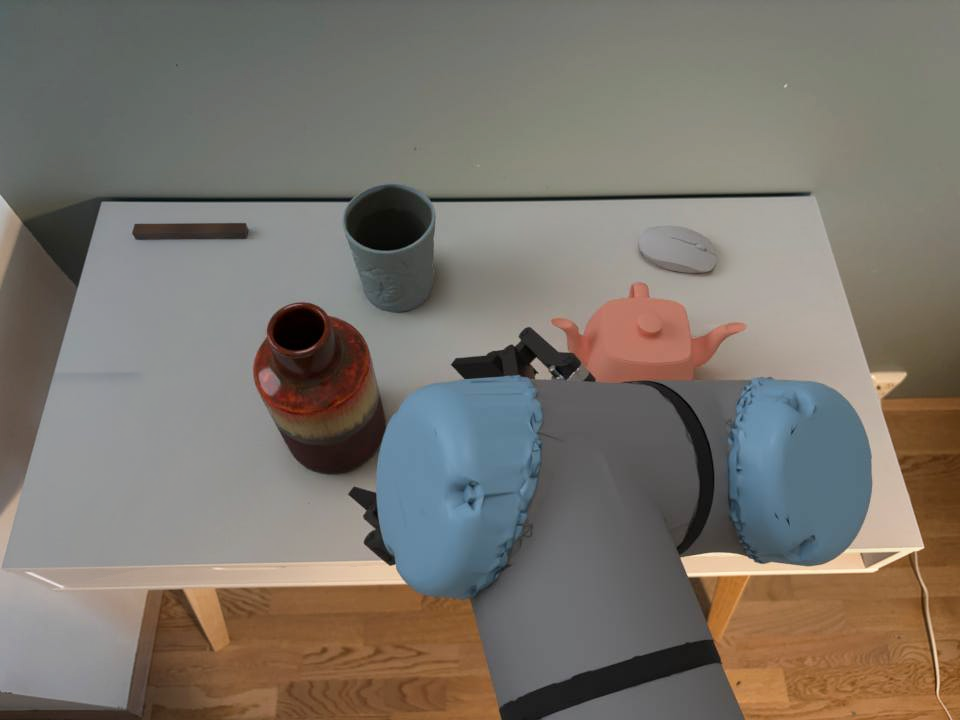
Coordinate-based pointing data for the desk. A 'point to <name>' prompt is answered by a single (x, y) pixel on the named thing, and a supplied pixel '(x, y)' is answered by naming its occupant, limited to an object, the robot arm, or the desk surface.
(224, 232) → the strip
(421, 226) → the grey-blue ceramic planter
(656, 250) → the computer mouse
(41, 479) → the desk surface
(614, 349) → the teapot
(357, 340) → the vase
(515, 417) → the robot arm
